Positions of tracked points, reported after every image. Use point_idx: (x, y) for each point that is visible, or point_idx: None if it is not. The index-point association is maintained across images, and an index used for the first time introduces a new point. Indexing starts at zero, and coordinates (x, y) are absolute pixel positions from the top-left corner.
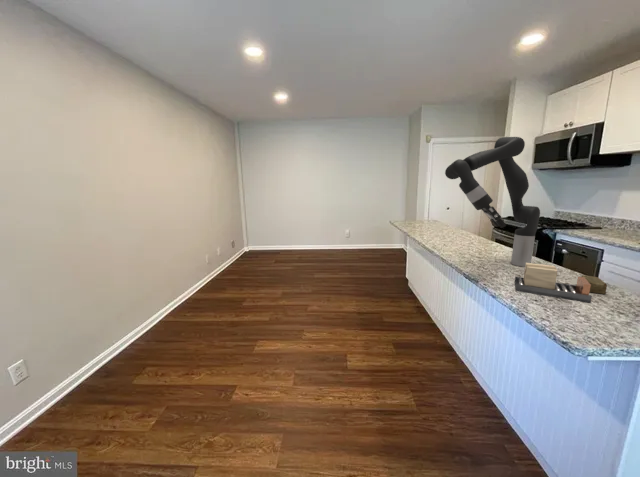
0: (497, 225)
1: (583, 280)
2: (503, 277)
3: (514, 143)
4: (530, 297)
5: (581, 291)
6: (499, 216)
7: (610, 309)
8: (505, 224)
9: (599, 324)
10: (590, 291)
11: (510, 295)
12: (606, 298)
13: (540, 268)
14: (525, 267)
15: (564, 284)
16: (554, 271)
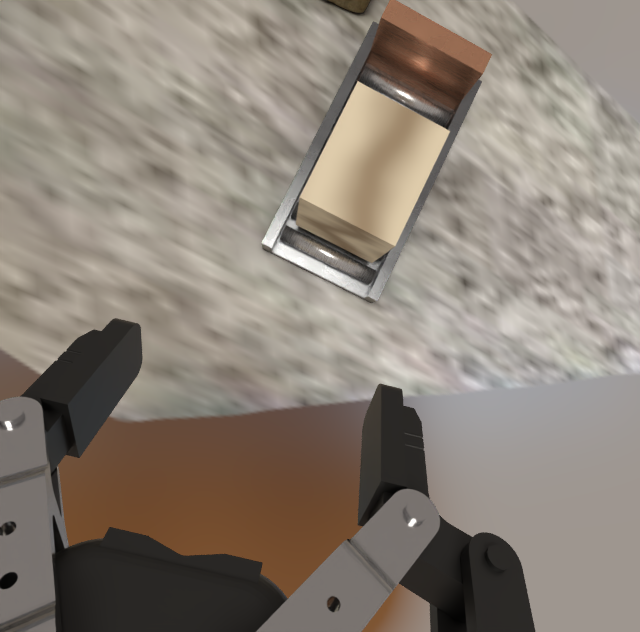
0: (138, 364)
1: (436, 38)
2: (195, 264)
3: None
4: (438, 284)
5: (452, 90)
6: (516, 587)
7: (516, 75)
8: (400, 397)
9: (626, 203)
10: (365, 8)
11: (426, 353)
12: (419, 2)
13: (412, 189)
14: (313, 213)
15: (353, 85)
16: (443, 143)
